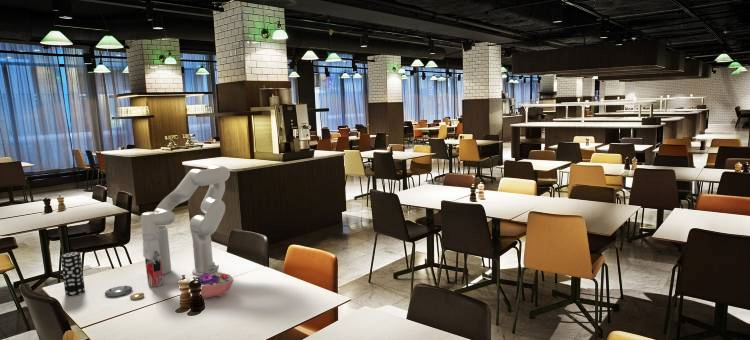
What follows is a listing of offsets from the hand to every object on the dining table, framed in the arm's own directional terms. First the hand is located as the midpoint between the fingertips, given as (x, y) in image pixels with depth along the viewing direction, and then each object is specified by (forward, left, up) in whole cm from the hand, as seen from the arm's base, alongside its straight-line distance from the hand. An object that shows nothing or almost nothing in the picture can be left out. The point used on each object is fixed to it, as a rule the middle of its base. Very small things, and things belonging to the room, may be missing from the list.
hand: (153, 269), depth 245 cm
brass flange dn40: (-2, +16, -9) cm, 18 cm away
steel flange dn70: (+12, +12, -9) cm, 19 cm away
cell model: (-38, +8, -9) cm, 40 cm away
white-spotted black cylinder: (+34, +16, -9) cm, 38 cm away
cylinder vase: (+11, -17, -9) cm, 22 cm away
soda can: (0, 0, -9) cm, 9 cm away
